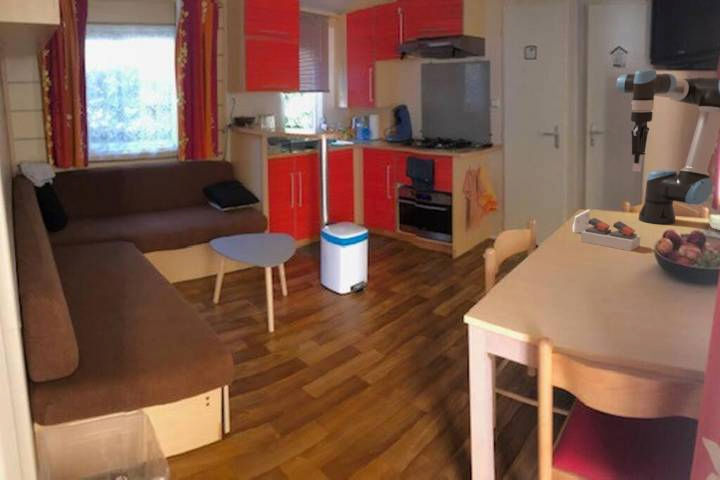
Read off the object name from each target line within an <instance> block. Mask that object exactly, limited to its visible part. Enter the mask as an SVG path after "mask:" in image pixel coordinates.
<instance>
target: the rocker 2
mask: <svg viewBox="0 0 720 480" xmlns="http://www.w3.org/2000/svg"><path fill="white" fill-rule="evenodd" d="M612 228H615V229H616V230H617V231H618V232H619V233H624V234H626V235H628V236H630V235H632V234H635V232H636V230H635V229H633V228H632V227H630V226H629V225H627V224H625V223H624V222H622V221H620V220H619V221H618V220H617V222H615V223H614V224H613V226H612Z"/></svg>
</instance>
